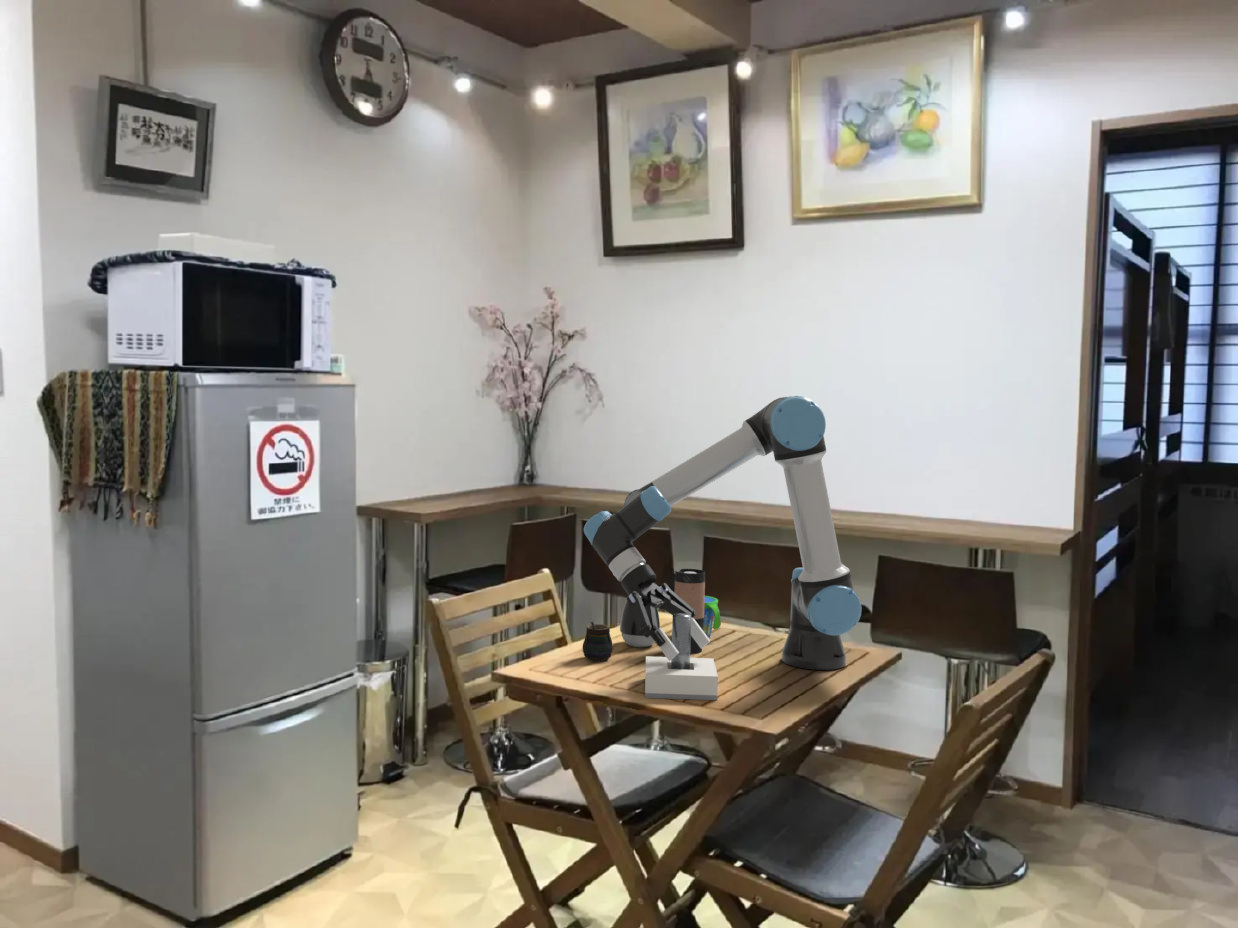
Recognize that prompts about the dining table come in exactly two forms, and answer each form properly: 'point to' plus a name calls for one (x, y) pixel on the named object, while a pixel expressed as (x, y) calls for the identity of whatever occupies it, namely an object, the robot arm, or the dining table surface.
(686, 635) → the pin
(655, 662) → the hole block
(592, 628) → the mate gourd
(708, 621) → the snack cup
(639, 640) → the pump dispenser
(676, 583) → the travel mug
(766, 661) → the dining table surface
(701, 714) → the dining table surface
